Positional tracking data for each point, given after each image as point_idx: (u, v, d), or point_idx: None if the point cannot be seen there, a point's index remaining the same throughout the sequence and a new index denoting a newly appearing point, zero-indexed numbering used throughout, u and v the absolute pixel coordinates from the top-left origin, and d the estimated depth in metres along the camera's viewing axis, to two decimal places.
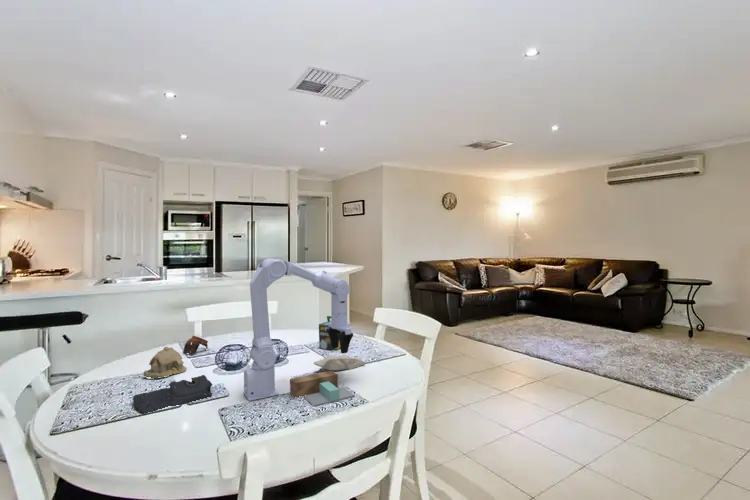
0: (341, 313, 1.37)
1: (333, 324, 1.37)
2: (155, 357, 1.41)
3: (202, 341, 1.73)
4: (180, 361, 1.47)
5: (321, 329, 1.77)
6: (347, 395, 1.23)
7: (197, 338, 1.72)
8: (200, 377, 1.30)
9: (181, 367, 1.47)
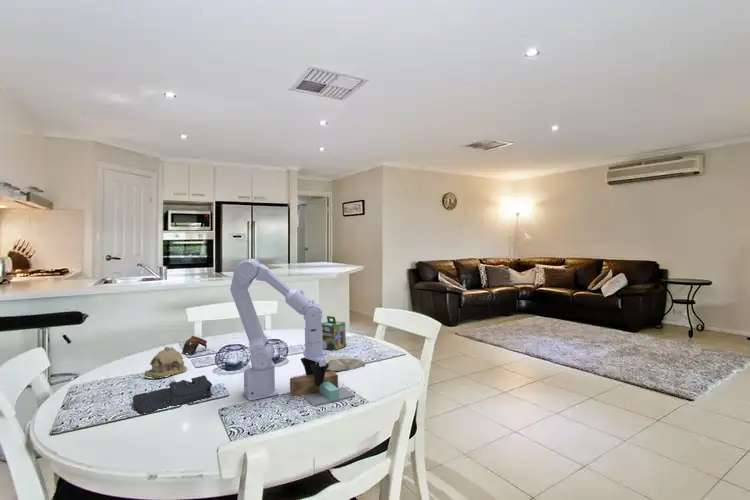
0: (312, 342, 1.25)
1: (307, 354, 1.26)
2: (156, 357, 1.41)
3: (201, 341, 1.73)
4: (181, 361, 1.47)
5: None
6: (347, 395, 1.23)
7: (196, 338, 1.72)
8: (200, 377, 1.29)
9: (182, 367, 1.47)
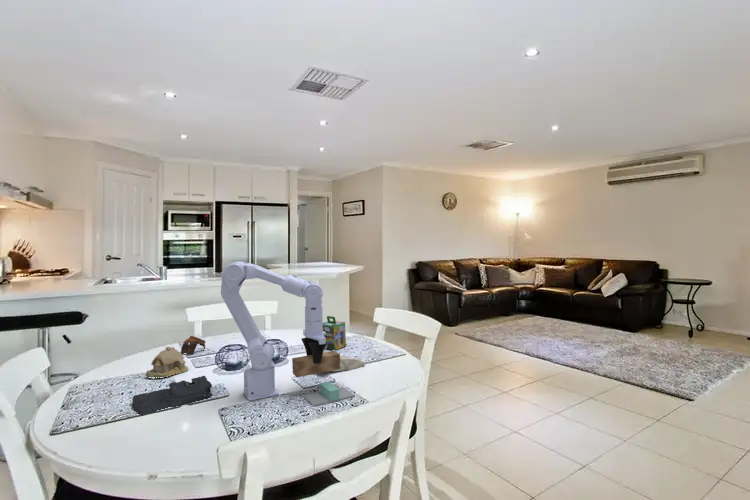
0: (312, 321, 1.25)
1: (306, 333, 1.25)
2: (158, 357, 1.41)
3: (200, 341, 1.72)
4: (182, 361, 1.47)
5: None
6: (347, 395, 1.23)
7: (195, 338, 1.72)
8: (200, 378, 1.29)
9: (183, 367, 1.48)
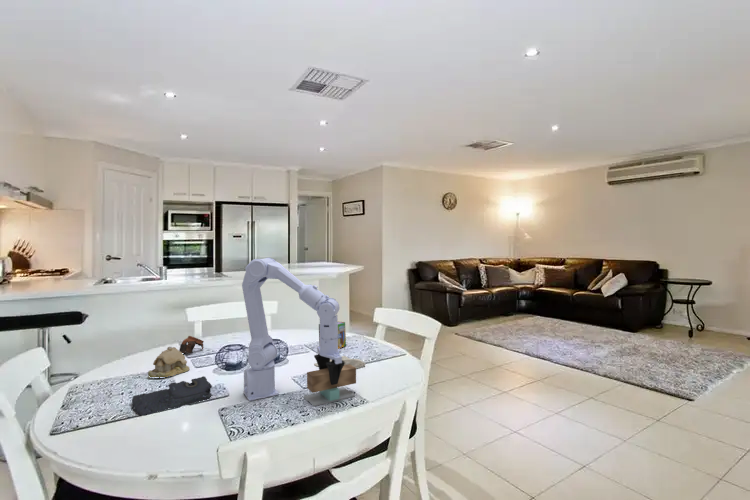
0: (324, 338, 1.19)
1: (321, 351, 1.20)
2: (160, 357, 1.41)
3: (198, 341, 1.72)
4: (184, 360, 1.48)
5: None
6: (347, 395, 1.23)
7: (193, 338, 1.72)
8: (200, 378, 1.28)
9: (185, 366, 1.48)
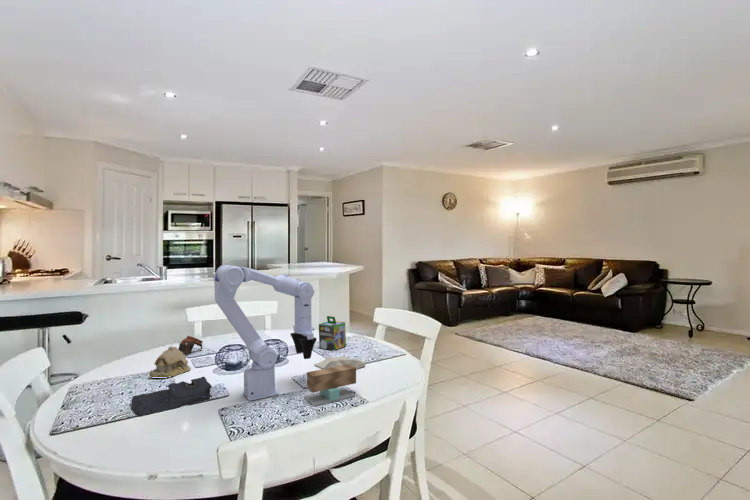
0: (305, 317, 1.31)
1: (296, 328, 1.31)
2: (161, 357, 1.41)
3: (197, 341, 1.72)
4: (185, 360, 1.48)
5: (321, 329, 1.77)
6: (347, 395, 1.23)
7: (192, 338, 1.72)
8: (200, 379, 1.28)
9: (186, 366, 1.48)
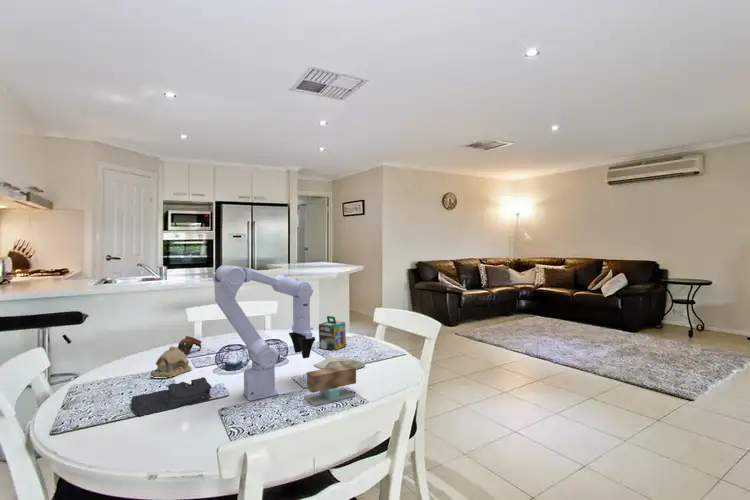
0: (304, 316, 1.32)
1: (294, 328, 1.32)
2: (162, 357, 1.42)
3: (196, 341, 1.72)
4: (186, 360, 1.48)
5: (321, 329, 1.77)
6: (347, 395, 1.23)
7: (191, 338, 1.72)
8: (200, 379, 1.28)
9: (187, 366, 1.48)
